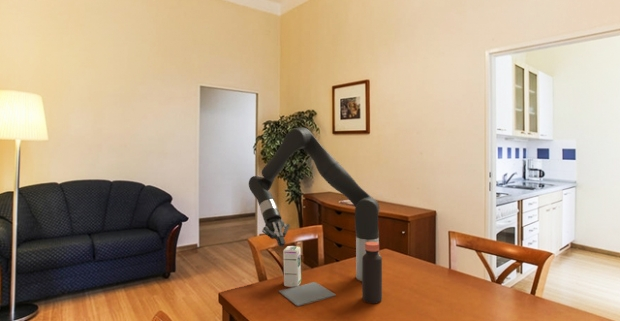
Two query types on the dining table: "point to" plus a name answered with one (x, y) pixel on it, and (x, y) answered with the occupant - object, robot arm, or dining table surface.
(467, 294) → the dining table surface
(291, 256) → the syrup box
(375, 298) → the bottle
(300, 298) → the slate mat
